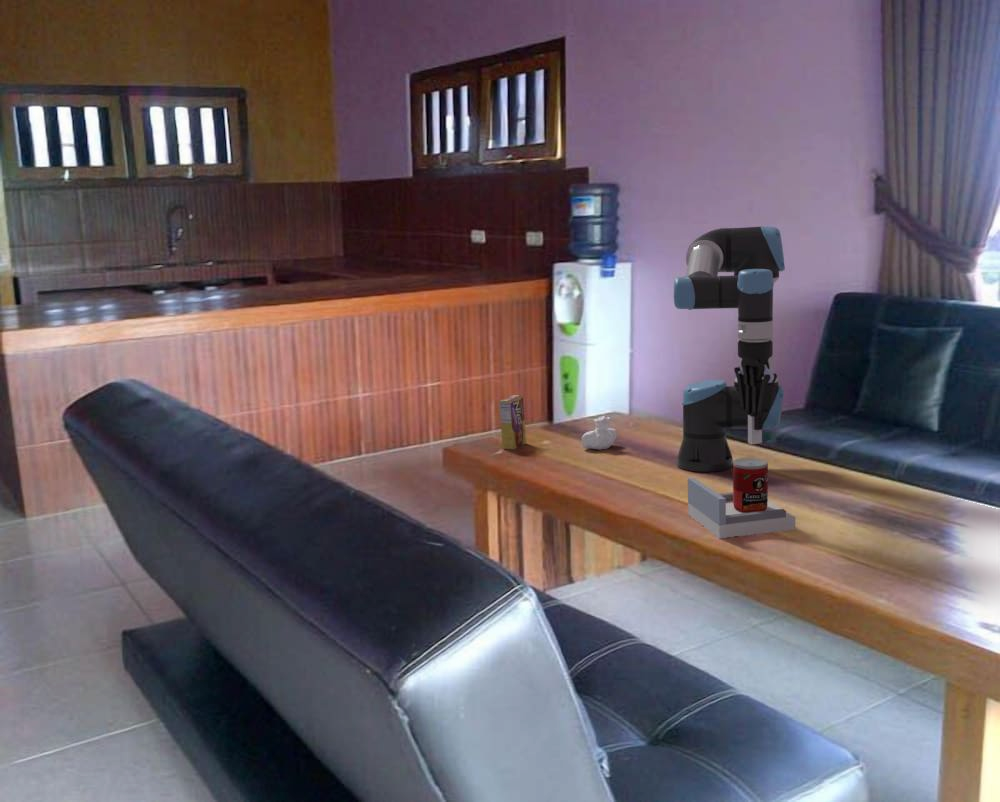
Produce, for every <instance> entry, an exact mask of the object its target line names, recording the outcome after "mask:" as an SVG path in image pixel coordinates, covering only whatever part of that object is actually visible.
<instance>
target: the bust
mask: <svg viewBox="0 0 1000 802" xmlns="http://www.w3.org/2000/svg"><path fill="white" fill-rule="evenodd" d="M592 421H593V423H594V424H595V429H594V430H589V431H587V432H585V433H584V434H583V435H582V436H581V445H582V447H583V448H584V449H591V450H599V451H601V450H602V449H604V450H607V449H609V448H610V447H611V446H613V444H614V442H615V440H616V439H617V437H618V431H617V430H616V429H615V428H610V424H611V421H612V419H611V417H609V416H607V417H606V416H605V415H603V416H600V415H599V417H598V418H595V419H594V418H593V419H592ZM602 451H603V450H602Z"/></svg>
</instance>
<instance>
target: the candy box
mask: <svg viewBox="0 0 1000 802" xmlns="http://www.w3.org/2000/svg"><path fill="white" fill-rule="evenodd" d="M498 403H499V416H500V430H501V431H500V432H501V445H502V449H503V450H510V449H511V451H513V450H516V449H517V448H518V449H519V447H521V446H523V445H525V444H527V434H526V420H525V407H524V395H518V394H517V395H513V394H512V395H510V396H507V397H505V398H503V399H501V400H499V402H498Z"/></svg>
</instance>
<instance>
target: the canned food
mask: <svg viewBox="0 0 1000 802" xmlns="http://www.w3.org/2000/svg"><path fill="white" fill-rule="evenodd" d="M768 481H769V464H768V460H765V459H763V458H759V457H739V458H737V459H735V460H733V465H732V484H733V485H732V492H733V505H734V508H735V509H736V510H737V511H740V512H744V513H751V512H759V511H765V510H766V509H767V503H768V501H769V498H768V496H769V495H768V489H769V482H768Z"/></svg>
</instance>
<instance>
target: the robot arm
mask: <svg viewBox="0 0 1000 802" xmlns="http://www.w3.org/2000/svg"><path fill="white" fill-rule="evenodd" d="M685 262H686V266H687V269H686V273H685V276H681V277H680V276H678V277H676V278H675V279H674V282H673V303H674V306H675V308H676V309H678V310H679V309H680V310H688V311H689V310H690V311H691V310H711V309H715V310H716V309H717V310H718V309H737V314H738V315H737V326H738V327H737V332H738V333H737V338H738V339H739V341H738V342H737V356H738V357H739V366H736V367H734V373H735V376H736V377H735V378H734V381H733V385H729V386H728V385H727V382H726V381H725V380H722V379H718V380H717V379H709V380H704V381H698V382H694V383H690V384H689V385H687V386H685V387H684V389H683V392H682V402H681V404H682V435H683V436H682V441H681V444H680V447H679V450H678V454H677V456H676V465H677V467H679V468H680V469H683V470H685V471H690V472H691V471H692V472H699V473H703V472H706V473H709V472H719V471H726V470H729V469H731V468H733V462H734V460H733V459H734V458H733V455H732V451H731V448H730V445H729V443H728V439H727V429H728V430H731V429H732V430H733V429H734V430H735V429H736V430H737V429H738V430H739V429H742V430H744V429H746V430H747V443H748V445H757V444H762V443H763V430H769V429H770V430H771V429H775V428H777V427H778V426H779V424H780V421H781V415H782V409H783V402H784V391H785V387H784V386H783V385H780V384H779V378H777V377H778V375H777V373H773V368H774V367H773V360H774V359H773V358H774V357H773V356H774V355H773V350H774V349H773V347H774V343H773V342H774V284H775V283H776V282H777V281H778V280H779V278H780V272H784V271H785V268H786V267H785V258H784V249H783V242H782V235H781V231H780V230H779V228H777V227H775V226H761V225H760V226H750V227H749V226H748V227H747V226H746V227H728V228H727V227H721V228H716V229H713V230H710V231H708V232H705V233H704V234H702V235H700V236H699V237H697V238H696V239H695V240H693V241H692V243H691V244H690V245H689V246H688V248H687V251H686V254H685ZM719 273H733V275H718V274H719Z"/></svg>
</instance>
